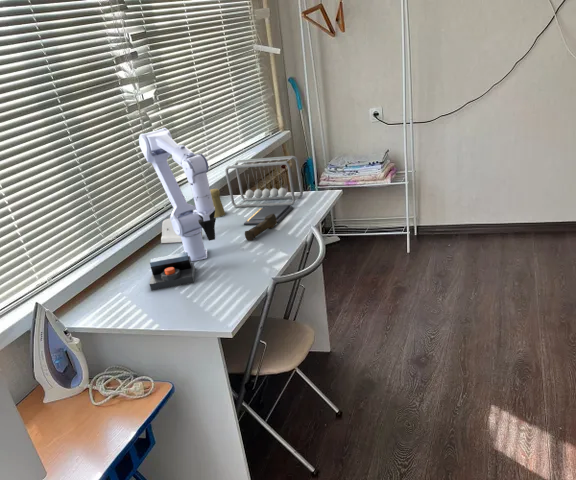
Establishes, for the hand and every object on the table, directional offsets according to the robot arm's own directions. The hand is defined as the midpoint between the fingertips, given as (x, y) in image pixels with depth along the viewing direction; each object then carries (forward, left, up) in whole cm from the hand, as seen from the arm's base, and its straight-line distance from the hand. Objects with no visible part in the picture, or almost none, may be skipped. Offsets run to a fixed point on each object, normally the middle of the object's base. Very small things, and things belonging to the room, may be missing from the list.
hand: (211, 236), depth 201 cm
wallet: (-47, +21, -11) cm, 53 cm away
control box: (+5, -15, -10) cm, 19 cm away
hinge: (-38, -14, -11) cm, 42 cm away
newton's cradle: (-68, +22, -11) cm, 72 cm away
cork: (-63, 0, -11) cm, 64 cm away
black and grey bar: (+2, -15, -8) cm, 17 cm away
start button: (+9, -15, -7) cm, 19 cm away
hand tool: (-28, +17, -11) cm, 35 cm away
